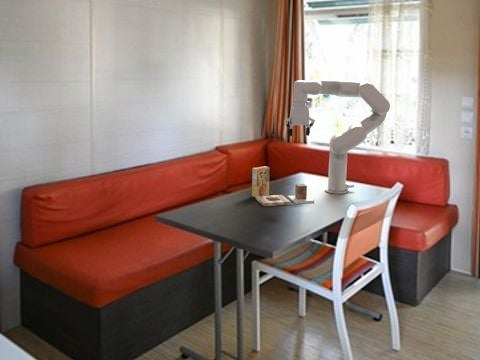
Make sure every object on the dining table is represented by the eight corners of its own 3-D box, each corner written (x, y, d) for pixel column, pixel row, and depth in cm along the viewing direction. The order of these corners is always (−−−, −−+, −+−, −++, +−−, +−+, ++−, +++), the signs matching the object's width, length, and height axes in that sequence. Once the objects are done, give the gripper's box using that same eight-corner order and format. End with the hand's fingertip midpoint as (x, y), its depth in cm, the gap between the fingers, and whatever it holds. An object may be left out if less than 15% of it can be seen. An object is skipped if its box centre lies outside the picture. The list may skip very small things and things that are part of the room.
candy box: (264, 193, 292) (264, 165, 288) (269, 195, 289) (270, 167, 285) (251, 196, 286) (251, 167, 283) (256, 197, 283) (257, 169, 280)
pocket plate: (281, 197, 284) (281, 194, 284) (290, 204, 271) (290, 201, 271) (255, 199, 281) (255, 196, 281) (263, 206, 268) (263, 203, 267)
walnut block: (303, 196, 282) (303, 183, 281) (306, 199, 278) (306, 185, 276) (295, 197, 281) (295, 184, 280) (298, 199, 277) (298, 186, 275)
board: (305, 196, 287) (305, 194, 286) (314, 202, 275) (314, 200, 275) (287, 197, 284) (287, 195, 284) (295, 203, 273) (295, 201, 273)
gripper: (312, 103, 296) (311, 134, 300) (282, 103, 292) (281, 135, 296) (317, 104, 289) (316, 136, 293) (287, 104, 285) (286, 137, 288)
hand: (299, 135), depth 294 cm, fingers open, 9 cm apart
